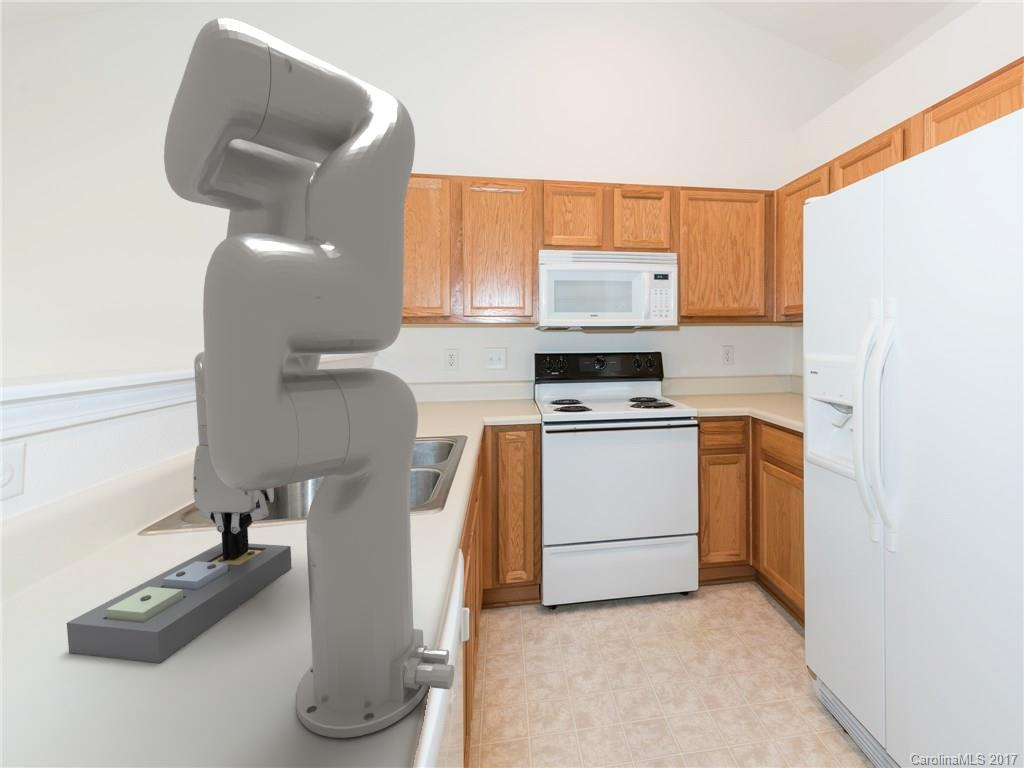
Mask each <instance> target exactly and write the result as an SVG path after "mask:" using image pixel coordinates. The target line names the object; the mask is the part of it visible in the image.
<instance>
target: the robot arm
mask: <svg viewBox="0 0 1024 768" xmlns="http://www.w3.org/2000/svg"><path fill="white" fill-rule="evenodd" d="M192 45H193V46H192V47H191V52H190V54H189V57H188V61H187V63H186V66H185V70H184V72H183V75H182V79H181V82H180V85H179V87H178V91H177V93H176V95H175V98H174V102H173V105H172V108H171V110H170V115H169V118H168V122H167V123H168V124H167V129H166V133H165V139H164V147H163V148H164V149H163V150H164V151H163V164H164V171H165V175H166V179H167V182H168V184H169V186H170V188H171V190H173V192H174V193H175V194H176V195H177V196H178V197H180V198H181V199H184V200H185V201H188V202H191V203H196V204H200V205H207V206H210V207H215V208H220V209H226V210H229V215H228V221H227V229H226V238H224V239H223V240H222V241H221V242H219V244H218V245H217V246H216V247H215V249H214V251H213V253H212V254H211V257H210V259H209V262H208V265H207V267H206V272H205V277H204V283H203V297H202V298H203V299H202V300H203V301H202V303H203V304H202V307H203V308H202V310H203V311H202V314H203V343H204V344H203V347H204V348H203V349H204V351H201V352H199V353H197V355H195V358H194V360H193V361H194V364H193V365H194V368H193V369H194V382H195V385H194V386H195V401H196V415H197V416H196V417H197V432H198V433H197V434H198V445H196V449H195V454H194V461H193V463H194V464H193V475H192V476H193V477H192V478H193V480H192V482H193V483H192V484H193V485H192V486H193V499H194V504H195V507H196V508H197V509H199V513H198V514H199V515H200V516H201V517H204V518H208V519H209V520H211V521H212V522H213V523H214V524H215V526H216V530H217V532H218V533H221V543H222V550H223V559H230V560H235V559H236V558H238V557H240V556H241V555H243V554H245V553H247V552H248V550H249V547H248V543H249V531H248V529H249V528H250V527H251V526H252V524H253V522H254V521H260V520H263V519H265V518H266V517H268V516H269V514H270V513H269V509H268V506H267V505H270V504H272V503H273V502H274V497H275V496H274V489H275V488H279V487H283V486H288V485H292V484H297V483H301V482H305V481H310V480H315V479H319V478H322V480H321V482H320V484H319V486H318V488H317V489H316V492H315V494H314V496H313V498H312V501H311V504H310V506H309V510H308V514H307V519H306V527H305V529H306V531H305V532H306V552H307V553H306V554H307V556H306V558H307V572H308V573H307V575H308V596H309V598H308V599H309V614H310V615H309V617H310V618H309V619H310V620H309V621H310V637H311V660H312V665H311V666H310V667H309V668H308V670H307V671H306V672H304V674H303V676H302V677H301V679H300V682H299V684H298V686H297V689H296V692H295V707H296V708H295V709H296V714H297V715H296V716H297V717H298V718H299V720H300V722H301V724H303V726H304V727H306V728H307V729H308V730H310V731H311V732H313V733H315V734H317V735H320V736H325V737H329V738H338V739H339V738H340V739H341V738H342V739H346V738H355V737H362V736H365V735H368V734H373V733H375V732H378V731H381V730H383V729H386V728H388V727H389V726H391V725H393V724H394V723H396V722H398V721H400V720H401V719H403V718H404V717H405V716H407V714H410V712H412V710H413V709H414V708H415V707H416V706H417V705H418V704H420V702H421V700H422V699H423V698H424V696H425V694H426V693H427V690H428V688H429V687H430V688H431V689H432V688H434V689H443V690H451V688H452V686H453V683H454V677H455V666H454V665H453V664H449V660H450V650H448V649H439V648H436V649H431V648H428V646H427V645H424V630H423V629H419V628H417V629H416V628H414V605H413V604H414V603H413V600H414V599H413V598H414V597H413V574H412V573H413V571H412V570H413V569H412V568H413V567H412V544H411V543H412V539H411V537H412V536H411V526H412V525H411V475H412V463H413V456H414V451H415V446H416V445H415V444H416V440H417V439H416V438H417V433H418V421H419V417H418V416H419V413H418V412H419V411H418V405H417V401H416V398H415V395H414V393H413V391H412V389H411V388H410V386H409V385H408V384H407V382H406V381H404V380H403V379H402V378H400V376H398V375H396V374H394V373H392V372H389V371H386V370H382V369H376V368H369V367H366V368H363V367H351V368H324V369H321V368H320V369H319V365H320V361H321V358H322V355H354V354H367V353H369V354H371V353H376V352H382V351H383V350H386V349H387V348H389V347H390V346H392V345H393V344H394V343H395V342H396V340H397V339H398V337H399V334H400V332H401V326H402V322H403V313H404V273H405V272H404V270H405V267H404V266H405V265H404V264H405V260H404V259H405V257H404V255H405V203H406V198H407V197H406V196H407V194H408V193H407V192H408V187H409V183H410V180H411V175H412V170H413V168H414V167H413V166H414V162H415V161H414V159H415V152H416V151H415V150H416V136H415V129H414V128H415V127H414V123H413V121H412V117H411V116H410V113H409V111H408V109H407V108H406V106H405V105H404V104H403V103H402V101H400V99H398V98H397V97H396V96H394V95H392V94H390V93H389V92H387V91H385V90H383V89H382V88H379V87H377V86H375V85H373V84H371V83H369V82H366V81H364V80H362V79H360V78H358V77H357V76H354V75H353V74H350V73H349V72H347V71H344V70H342V69H341V68H339V67H337V66H334V65H333V64H330V63H329V62H326V61H324V60H322V59H320V58H318V57H315V56H313V55H311V54H309V53H306V52H305V51H302V50H301V49H299V48H296V47H295V46H292V45H291V44H288V43H286V42H284V41H282V40H281V39H279V38H277V37H274V36H272V35H270V34H268V33H267V32H265V31H262V30H260V29H258V28H256V27H254V26H251V25H250V24H247V23H245V22H243V21H239V20H236V19H232V18H226V17H220V18H219V17H218V18H213V19H211V20H209V21H208V22H207V23H205V24H204V25H203V27H202V28H201V29H200V31H199V32H198V34H197V36H196V38H195V40H194V42H193V44H192ZM317 164H320V165H319V166H318V165H317Z"/></svg>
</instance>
